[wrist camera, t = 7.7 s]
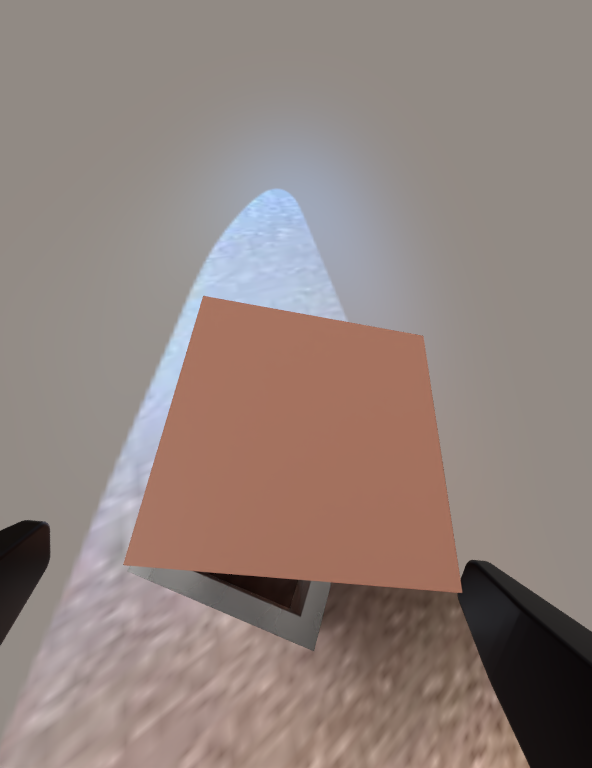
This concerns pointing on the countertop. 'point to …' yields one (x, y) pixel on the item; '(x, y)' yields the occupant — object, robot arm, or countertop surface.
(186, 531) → the salmon brown rectangular block
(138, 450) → the countertop surface
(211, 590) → the gray square planter
